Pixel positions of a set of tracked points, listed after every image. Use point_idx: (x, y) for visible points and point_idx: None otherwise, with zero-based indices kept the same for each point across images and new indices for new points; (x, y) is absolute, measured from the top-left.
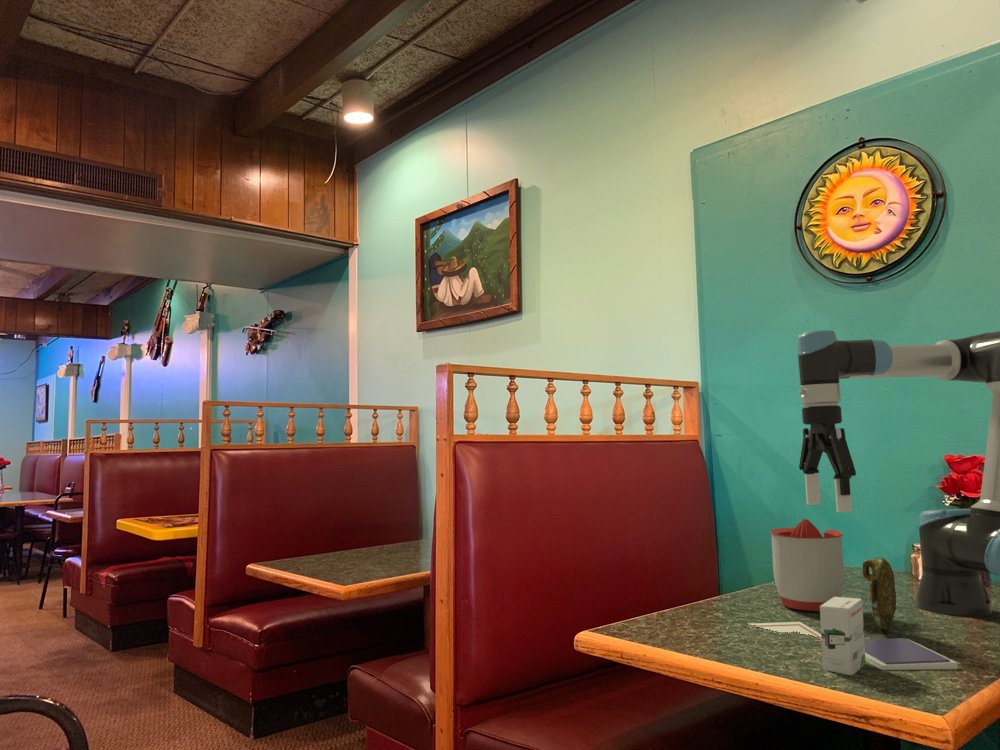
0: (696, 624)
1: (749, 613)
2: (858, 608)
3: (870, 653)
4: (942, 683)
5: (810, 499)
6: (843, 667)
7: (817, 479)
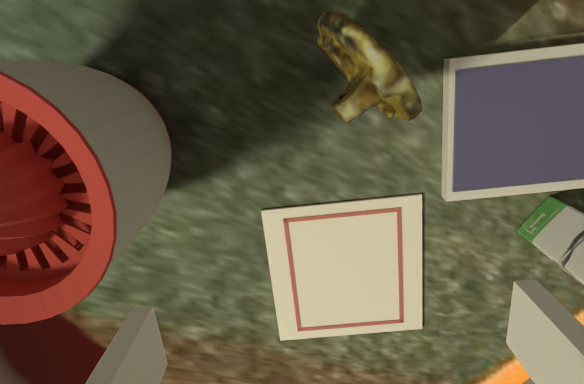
0: (269, 377)
1: (185, 279)
2: None
3: (540, 182)
4: None
5: (153, 376)
6: None
7: None
